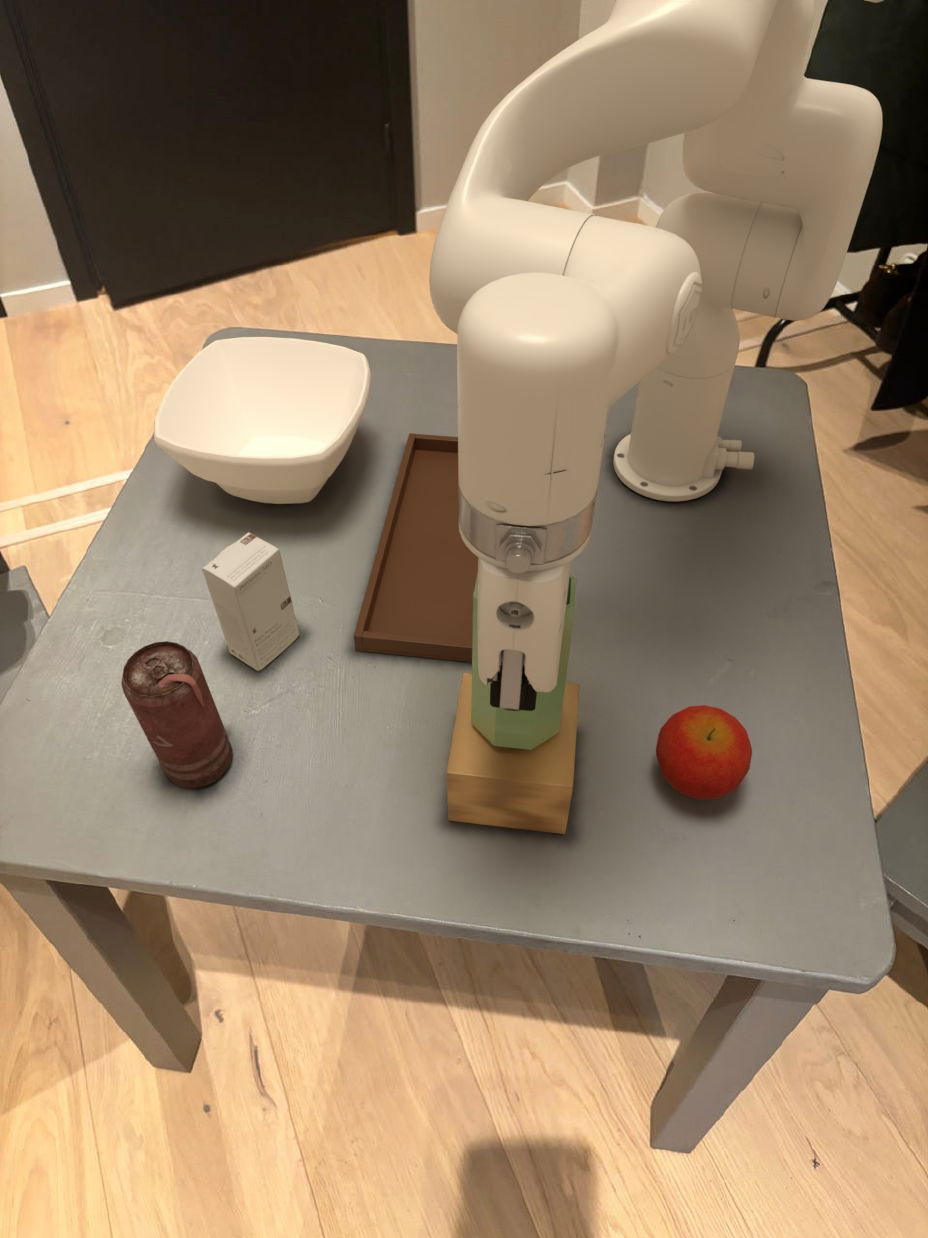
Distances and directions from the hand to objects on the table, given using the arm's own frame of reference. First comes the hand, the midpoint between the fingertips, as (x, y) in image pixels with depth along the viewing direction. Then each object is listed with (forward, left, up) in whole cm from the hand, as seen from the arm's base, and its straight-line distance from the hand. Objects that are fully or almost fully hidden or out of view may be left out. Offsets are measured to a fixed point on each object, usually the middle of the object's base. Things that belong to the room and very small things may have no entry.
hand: (513, 699), depth 64 cm
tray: (+8, -32, -18) cm, 38 cm away
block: (0, -4, -18) cm, 18 cm away
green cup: (0, -5, -9) cm, 11 cm away
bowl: (+31, -41, -18) cm, 54 cm away
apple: (-16, -6, -18) cm, 25 cm away
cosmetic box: (+26, -16, -18) cm, 35 cm away
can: (+28, -2, -18) cm, 33 cm away
